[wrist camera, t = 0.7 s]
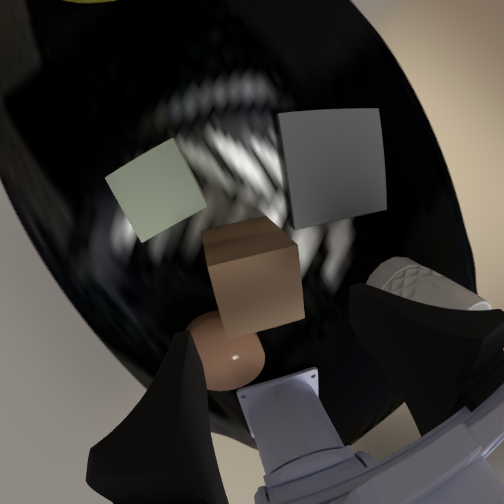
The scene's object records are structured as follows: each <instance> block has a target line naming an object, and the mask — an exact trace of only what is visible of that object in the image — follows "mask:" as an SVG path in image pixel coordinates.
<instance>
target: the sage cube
mask: <svg viewBox="0 0 504 504" xmlns="http://www.w3.org/2000/svg"><path fill="white" fill-rule="evenodd" d="M105 179H106V181H107V183H108V185H109V186H110V188H111V190H112V192H113V194H114V196H115V197H116V199H117V201H118V203H119V205H120V206H121V208H122V210H123V212H124V213H125V215H126V217H127V219H128V220H129V222H130V224H131V225H132V227H133V229H134V231H135V232H136V234H137V236H138V237H139V239H140V241H141V242H142V243H143V242H144V241H146V240H148V239H150V238H151V237H153V236H155V235H157V234H158V233H160V232H162V231H164V230H166V229H167V228H169V227H171V226H173V225H175V224H176V223H178V222H180V221H182V220H184V219H186V218H188V217H189V216H191V215H193V214H195V213H197V212H199V211H201V210H203V209H205V208H206V207H208V205H207V202H206V199H205V196H204V194H203V192H202V190H201V188H200V186H199V184H198V182H197V180H196V178H195V176H194V174H193V172H192V170H191V168H190V166H189V164H188V162H187V160H186V159H185V157H184V155H183V153H182V151H181V149H180V147H179V145H178V143H177V141H176V140H175V139H174V138H171V139H169V140H168V141H166V142H164V143H162V144H160V145H158V146H157V147H155V148H153V149H151V150H149V151H148V152H146V153H144V154H142V155H141V156H139V157H137V158H136V159H134V160H132V161H131V162H129V163H127V164H126V165H124V166H122V167H121V168H119V169H118V170H116V171H114V172H113V173H111V174H110V175H108V176H107V177H105Z"/></svg>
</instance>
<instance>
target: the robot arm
mask: <svg viewBox="0 0 504 504" xmlns="http://www.w3.org/2000/svg"><path fill="white" fill-rule="evenodd" d="M349 323H350V324H351V326H352V328H353V330H354V331H355V333H356V334H357V336H358V338H359V339H360V340H361V341H362V343H363V344H364V345H365V346H366V348H367V349H368V350H369V351H370V352H371V354H372V355H373V356H374V357H375V358H376V359H377V361H378V362H379V363H380V364H381V365H382V367H383V368H384V369H385V370H386V372H387V373H388V374H389V376H390V377H391V379H392V381H393V382H394V384H395V385H396V387H397V389H398V390H399V392H400V394H401V396H402V397H403V399H404V401H405V403H406V405H407V407H408V409H409V410H410V413H411V415H412V417H413V419H414V421H415V423H416V425H417V428H418V430H419V433H420V435H421V438H419V439H418V440H416V441H414V442H413V443H411V444H409V445H408V446H406V447H404V448H402V449H401V450H399V451H397V452H395V453H393V454H392V455H390V456H388V457H386V458H384V459H382V460H380V461H378V462H377V461H376V460H375V458H374V457H373V456H371V455H370V454H367V453H364V452H362V451H358V452H356V453H354V452H353V450H352V449H351V447H350V445H348V446H346V447H344V445H343V443H342V441H341V439H340V438H339V436H338V434H337V432H336V430H335V428H334V426H333V425H332V423H331V421H330V419H329V417H328V415H327V413H326V411H325V410H324V408H323V406H322V404H321V402H320V400H319V398H318V370H317V368H316V367H311V368H308V369H305V370H302V371H299V372H296V373H293V374H290V375H286V376H283V377H280V378H276V379H273V380H270V381H266V382H262V383H259V384H255V385H251V386H247V387H243V388H240V389H238V390H237V396H238V399H239V402H240V405H241V408H242V410H243V413H244V416H245V419H246V422H247V424H248V427H249V430H250V433H251V435H252V437H253V438H255V441H256V444H257V447H258V451H259V454H260V457H261V461H262V464H263V467H264V470H265V474H266V475H265V476H263V477H264V481H265V484H266V486H261V487H259V488H258V491H257V492H256V494H255V496H254V499H255V504H504V483H503V482H502V480H501V479H500V478H499V477H498V475H497V474H496V473H495V471H494V470H493V469H492V467H490V465H489V464H488V462H487V461H486V460H485V458H486V457H487V456H488V455H489V454H490V453H491V452H492V451H493V450H494V449H495V448H496V447H497V446H498V445H499V444H500V443H501V442H502V441H503V440H504V350H503V348H504V311H502V310H501V309H493V310H458V309H450V308H443V307H437V306H433V305H428V304H424V303H420V302H417V301H413V300H410V299H407V298H404V297H401V296H398V295H395V294H392V293H390V292H387V291H384V290H382V289H379V288H376V287H373V286H371V285H368V284H364V283H358V284H355V285H352V286H350V307H349ZM243 395H244V396H243ZM86 482H87V484H88V485H89V486H90V487H91V488H92V489H93V490H94V491H96V492H97V493H99V494H100V495H102V496H103V497H105V498H106V499H108V500H110V501H111V502H113V504H229V503H228V500H227V496H226V494H225V490H224V486H223V483H222V479H221V476H220V472H219V468H218V464H217V460H216V456H215V452H214V447H213V443H212V438H211V432H210V423H209V411H208V397H207V384H206V378H205V373H204V368H203V363H202V361H201V358H200V356H199V353H198V351H197V348H196V345H195V343H194V340H193V337H192V334H191V332H190V330H187V331H183V332H178V333H176V334H175V335H174V338H173V340H172V342H171V345H170V347H169V350H168V352H167V354H166V356H165V358H164V360H163V362H162V365H161V367H160V369H159V371H158V372H157V374H156V376H155V378H154V380H153V381H152V383H151V385H150V386H149V388H148V390H147V391H146V393H145V394H144V396H143V397H142V398H141V400H140V401H139V403H138V404H137V405H136V406H135V407H134V409H133V410H132V411H131V412H130V413H129V415H128V416H127V417H126V418H125V419H124V420H123V421H122V422H121V423H120V424H119V425H118V426H117V427H116V428H115V429H114V430H113V431H112V432H111V433H109V435H107V436H106V437H105V438H103V439H102V440H101V441H100V442H98V443H97V444H96V445H94V446H93V447H92V448H91V449H90V452H89V457H88V464H87V473H86Z"/></svg>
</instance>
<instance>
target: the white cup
mask: <svg viewBox="0 0 504 504" xmlns="http://www.w3.org/2000/svg"><path fill="white" fill-rule="evenodd" d="M366 284H368V285H371V286H373V287H376V288H379V289H382V290H384V291H387V292H390V293H392V294H395V295H398V296H401V297H404V298H407V299H410V300H413V301H417V302H420V303H424V304H428V305H433V306H437V307H443V308H450V309H458V310H492V307H491V304H490V303H489V302H488V301H486V300H485V299H483V298H481V297H480V296H478V295H476V294H475V293H473V292H471V291H469V290H468V289H466V288H464V287H463V286H461V285H459V284H457V283H456V282H454V281H452V280H450V279H449V278H447V277H445V276H443V275H440V274H438V273H437V272H435V271H433V270H431V269H429V268H426V267H424V266H421V265H419V264H418V263H416V262H414V261H412V260H410V259H408V258H406V257H393V258H391V259H389V260H387V261H385V262H383V263H381V264H380V265H379V266H378V267H377V268H376V269H375V270H374V271H373V272H372V274H371V275H370V276H369V278H368V280H367V282H366Z"/></svg>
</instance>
